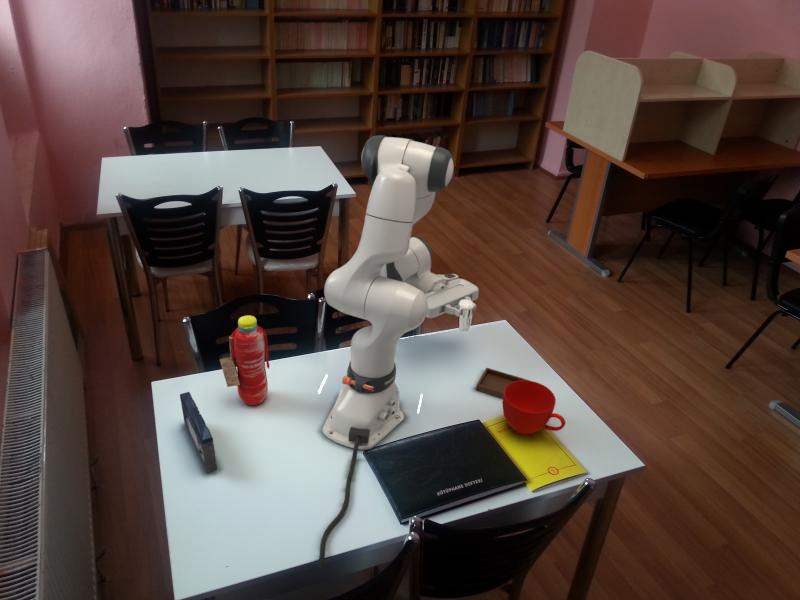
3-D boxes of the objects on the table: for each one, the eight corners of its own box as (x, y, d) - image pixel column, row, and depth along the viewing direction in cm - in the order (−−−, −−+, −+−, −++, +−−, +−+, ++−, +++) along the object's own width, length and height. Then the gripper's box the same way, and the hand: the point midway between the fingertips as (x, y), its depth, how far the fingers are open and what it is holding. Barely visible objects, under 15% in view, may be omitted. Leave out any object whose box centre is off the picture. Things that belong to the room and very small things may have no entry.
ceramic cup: (545, 459, 148) (553, 428, 143) (488, 425, 158) (493, 395, 153) (571, 434, 157) (579, 403, 152) (516, 403, 166) (521, 373, 161)
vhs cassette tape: (184, 425, 152) (179, 393, 147) (196, 421, 153) (191, 390, 148) (204, 474, 138) (199, 441, 133) (217, 470, 140) (213, 437, 135)
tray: (529, 406, 165) (530, 401, 164) (475, 390, 170) (476, 384, 169) (537, 387, 173) (538, 382, 172) (485, 372, 178) (486, 367, 177)
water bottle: (225, 413, 156) (216, 331, 144) (223, 394, 163) (214, 314, 150) (273, 406, 160) (268, 325, 147) (269, 387, 166) (264, 308, 154)
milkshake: (450, 327, 175) (452, 297, 169) (465, 322, 177) (468, 293, 172) (459, 335, 171) (462, 305, 166) (475, 330, 174) (478, 300, 168)
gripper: (407, 291, 171) (442, 312, 163) (458, 272, 184) (493, 290, 175) (406, 310, 175) (440, 332, 166) (456, 290, 187) (490, 309, 178)
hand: (467, 310), depth 170 cm, fingers closed on milkshake, 4 cm apart
